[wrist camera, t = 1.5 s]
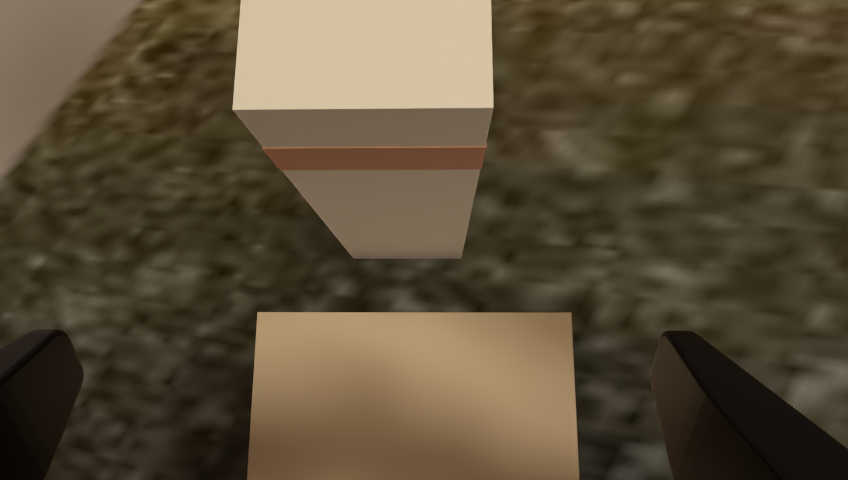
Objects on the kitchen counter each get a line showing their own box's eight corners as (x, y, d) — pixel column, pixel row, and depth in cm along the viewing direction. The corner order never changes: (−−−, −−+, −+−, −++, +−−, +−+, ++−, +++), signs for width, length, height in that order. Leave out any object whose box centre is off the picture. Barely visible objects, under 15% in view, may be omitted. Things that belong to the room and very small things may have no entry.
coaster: (582, 657, 19) (588, 670, 18) (243, 652, 19) (235, 664, 18) (566, 314, 21) (571, 312, 20) (264, 314, 21) (257, 312, 20)
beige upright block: (461, 259, 22) (495, 109, 9) (353, 259, 22) (231, 111, 9) (460, 131, 23) (488, -168, 10) (356, 132, 23) (252, -163, 10)
